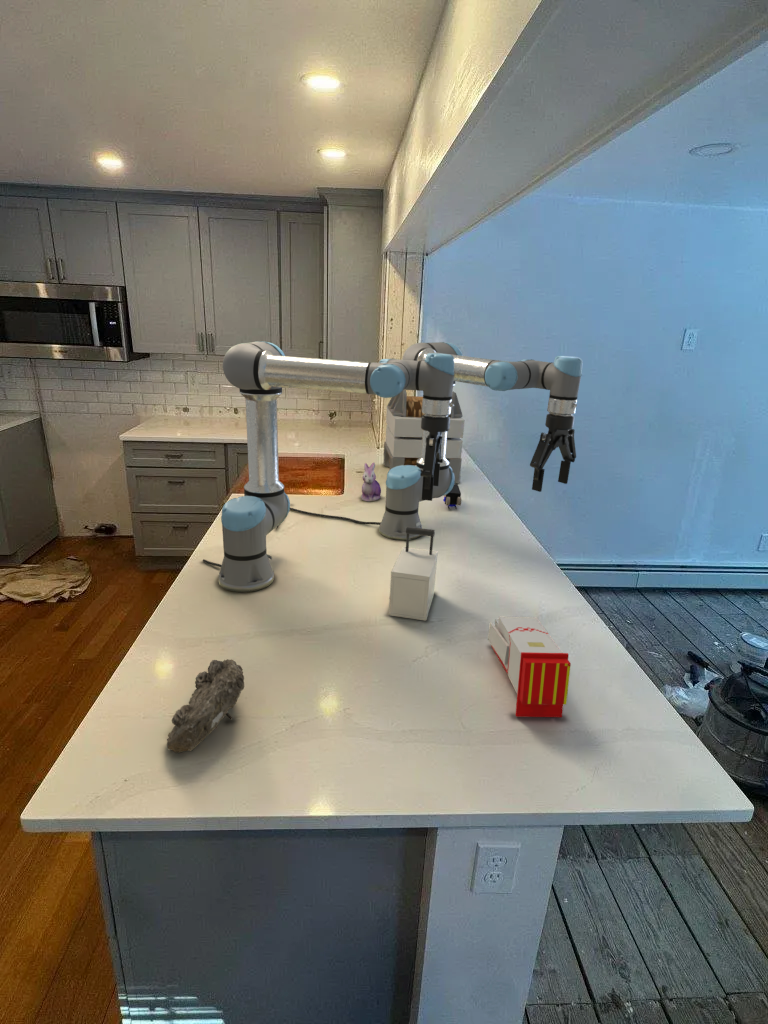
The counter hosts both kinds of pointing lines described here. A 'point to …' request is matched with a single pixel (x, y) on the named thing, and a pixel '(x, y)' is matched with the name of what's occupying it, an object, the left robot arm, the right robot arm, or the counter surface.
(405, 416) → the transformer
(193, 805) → the counter surface
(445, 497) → the figurine character
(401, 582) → the white open box
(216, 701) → the fossil
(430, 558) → the lid
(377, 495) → the figurine
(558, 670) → the toy
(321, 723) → the counter surface
